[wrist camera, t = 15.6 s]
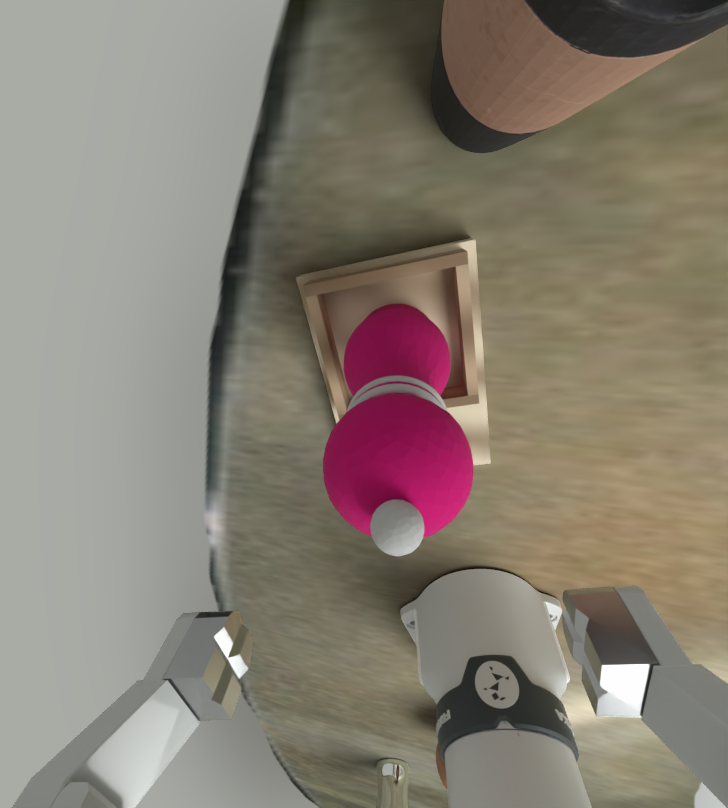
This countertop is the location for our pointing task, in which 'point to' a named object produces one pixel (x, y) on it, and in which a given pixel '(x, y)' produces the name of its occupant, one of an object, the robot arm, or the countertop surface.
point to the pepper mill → (397, 433)
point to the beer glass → (392, 783)
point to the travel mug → (549, 59)
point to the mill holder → (418, 287)
